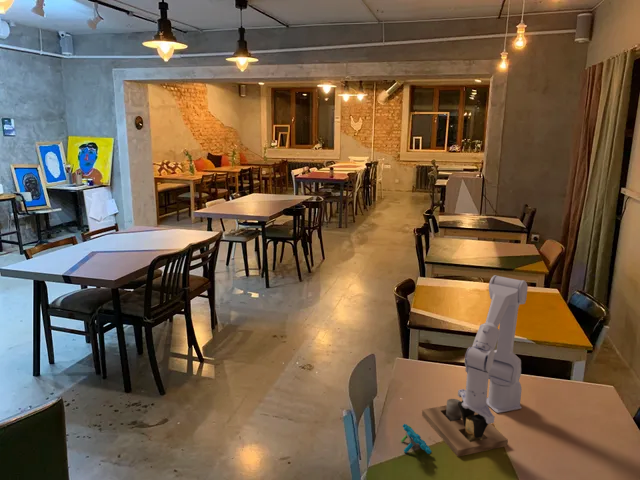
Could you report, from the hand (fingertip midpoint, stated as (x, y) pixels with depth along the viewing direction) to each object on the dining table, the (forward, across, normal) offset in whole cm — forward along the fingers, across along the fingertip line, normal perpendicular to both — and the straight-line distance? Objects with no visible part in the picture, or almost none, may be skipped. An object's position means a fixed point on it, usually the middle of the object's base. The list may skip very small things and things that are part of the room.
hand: (473, 431), depth 135 cm
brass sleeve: (+2, 0, 0) cm, 2 cm away
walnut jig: (+3, -5, 0) cm, 6 cm away
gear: (+3, -1, -18) cm, 18 cm away
